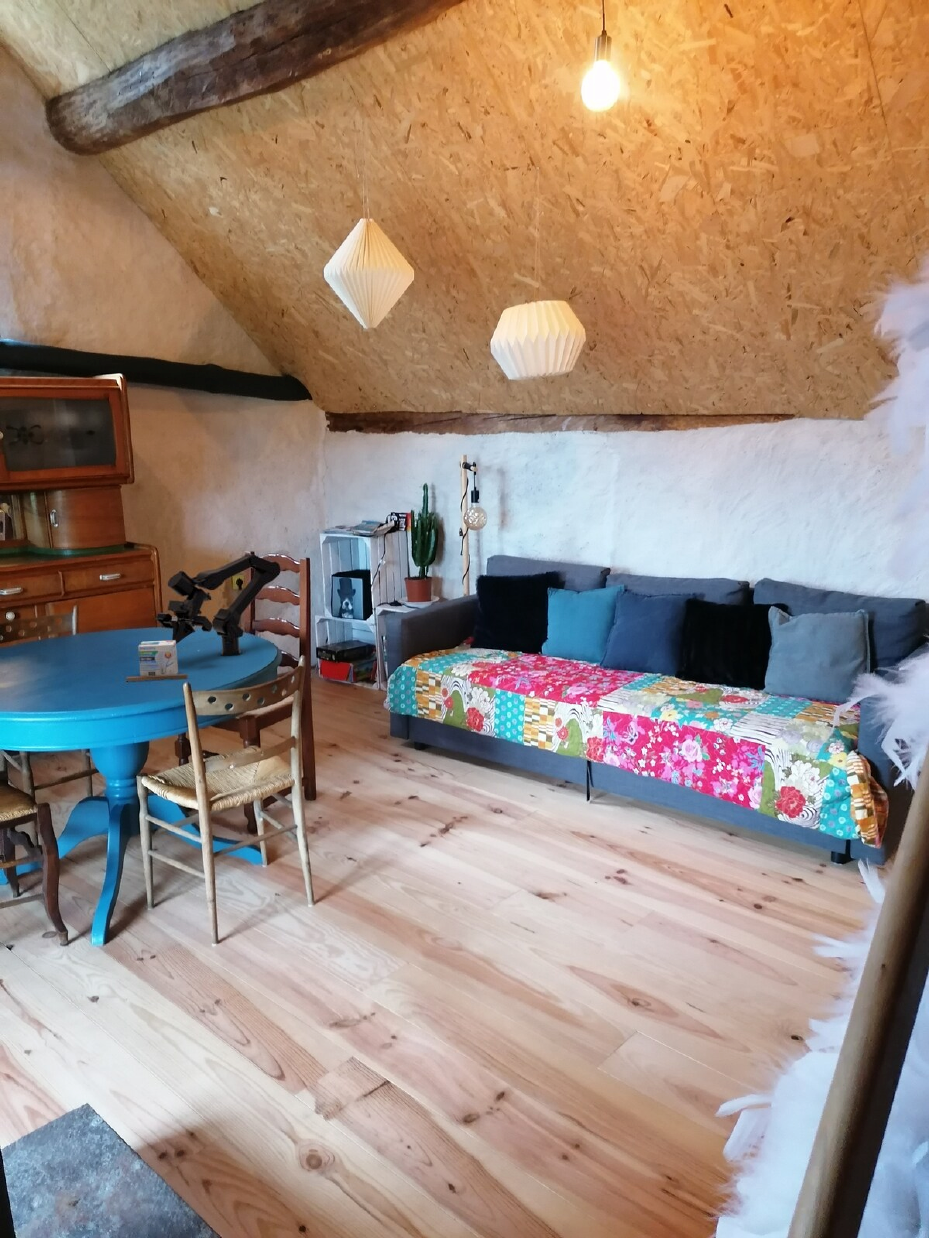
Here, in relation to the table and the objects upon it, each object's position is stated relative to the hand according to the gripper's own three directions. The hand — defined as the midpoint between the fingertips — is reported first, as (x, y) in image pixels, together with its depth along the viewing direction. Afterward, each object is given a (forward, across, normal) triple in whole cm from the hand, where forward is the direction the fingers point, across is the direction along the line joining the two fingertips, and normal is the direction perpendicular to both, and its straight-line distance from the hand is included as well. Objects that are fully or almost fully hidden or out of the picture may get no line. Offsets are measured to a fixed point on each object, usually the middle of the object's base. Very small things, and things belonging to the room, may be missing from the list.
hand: (173, 643), depth 269 cm
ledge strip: (+15, +2, -2) cm, 15 cm away
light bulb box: (+12, 0, +1) cm, 12 cm away
